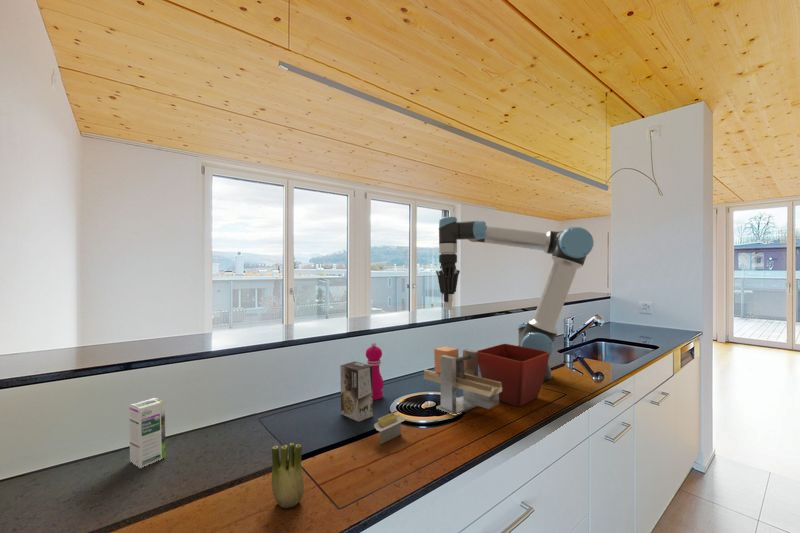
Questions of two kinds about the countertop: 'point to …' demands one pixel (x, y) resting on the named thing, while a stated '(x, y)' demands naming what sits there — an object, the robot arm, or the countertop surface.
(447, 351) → the rider
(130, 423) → the syrup box
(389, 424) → the platform
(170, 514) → the countertop surface
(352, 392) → the coffee box
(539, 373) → the plant pot
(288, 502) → the fennel bulb
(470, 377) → the beam
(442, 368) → the pivot stand
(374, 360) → the pepper mill
